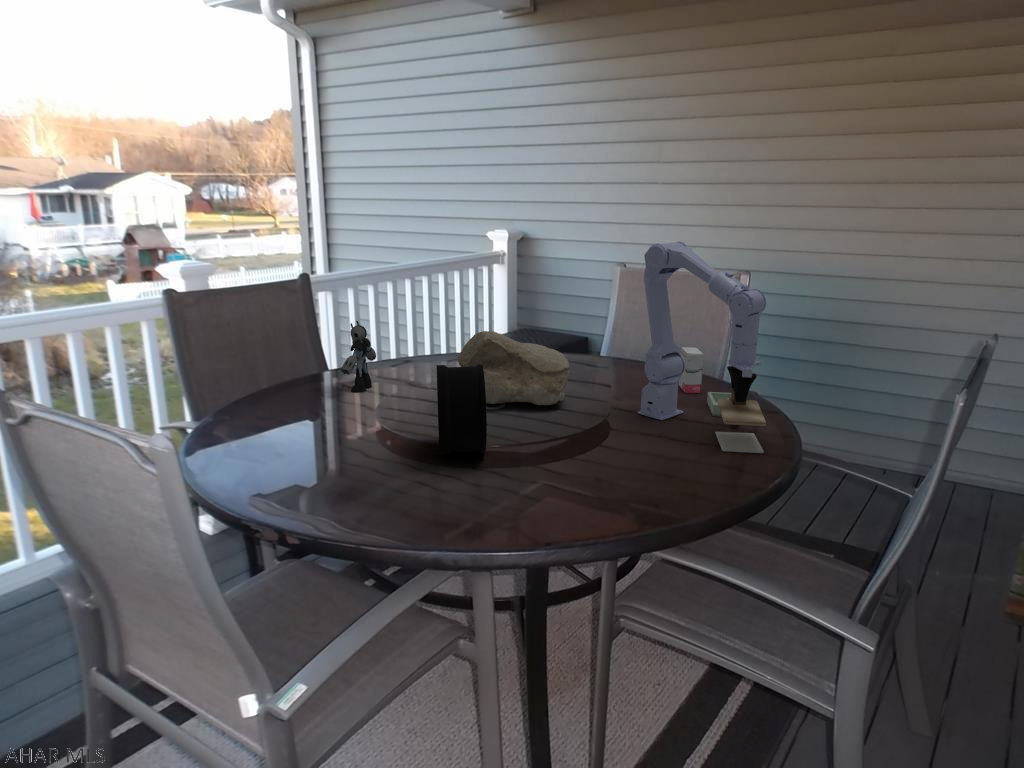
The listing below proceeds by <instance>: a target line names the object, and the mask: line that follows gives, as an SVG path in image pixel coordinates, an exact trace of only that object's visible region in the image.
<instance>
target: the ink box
mask: <svg viewBox="0 0 1024 768" xmlns="http://www.w3.org/2000/svg"><path fill="white" fill-rule="evenodd" d="M680 349H681V354H682V357H683V358H684V361H685V371H684V373H683V374H682V375H680V380H678V387H680V388H681V389H682V391H683V392H684V393H685V394H701V393H702V382H703V381H702V378H703V367H704V366H703V364H704V353H703V352H702V351H701V350H700V349H699V348H698V347H690V346H689V347H688V346H687V347H686V346H683V347H680Z"/></svg>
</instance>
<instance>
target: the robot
mask: <svg viewBox="0 0 1024 768" xmlns="http://www.w3.org/2000/svg"><path fill="white" fill-rule="evenodd" d="M350 328H351V330H350V332H349V333H350V336H351V341H352V342H351V346H350V352H353V353H352V355H350V356H348V357H347V358H346V360H345V361H344V362H343V365H342V366H341V372H342V373H343V375H348V376H350V374H351V373H352V372H353V370H355V377H354V381H353V382H354V384H353V386H352V387H351V390H350V391H351V393H355V394H358V393H366V392H367V389H371V388H372V387H373V385H372V378H371V376H370V374H369V372H368V364H367V360H369V361H375V360H376V359H377V352H376V351H375V350H376V349H374V348H373V347H372V343H371V341H370V339H369V338H367V336H368V331H367V329H366V328H365V327H364V325H361V324H360V323H359V320H356V325H353V323H352V322H351V323H350ZM355 367H356V369H355Z"/></svg>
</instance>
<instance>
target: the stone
mask: <svg viewBox="0 0 1024 768" xmlns="http://www.w3.org/2000/svg"><path fill="white" fill-rule="evenodd" d="M460 351H461V352H460V353H459V354H458V355H457V362H458V365H459V367H470V366H477V365H478V364H482V365H483V370H484V378H485V391H486V404H491V405H495V404H504V403H531V404H534V405H536V406H553V405H555V404H557V403H558V402H559V401H560V402H562V401H563V400H565V396H566V394H565V389H566V388H567V384H568V381H569V379H570V362H569V360H568V359H567V358H566V355H565V354H563V353H562V352H560V351H559V350H556V349H553V348H549V347H547V346H544V345H542V344H537V343H530V342H520V341H517V340H514V339H513V338H511V337H508V336H506V335H504V334H502V333H498V332H496V331H494V330H492V331H491V330H488V331H487V330H481V331H479V332H476V333H475V334H473V335H472V337H471V338H469V340H468V341H467V342H466V343H465V344H464V346H463V347H462V349H461V350H460Z"/></svg>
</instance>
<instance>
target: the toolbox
mask: <svg viewBox="0 0 1024 768" xmlns="http://www.w3.org/2000/svg"><path fill="white" fill-rule="evenodd" d="M731 393H732V392H718V391H717V392H716V391H715V392H714V391H708V392H707V396H706V397H707V400H706V404H707V406H708V408H709V410H710V413H711V415H712V417H721V418H722V415H721V412H720V409H719V405H718V399H729V396H731Z"/></svg>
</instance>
